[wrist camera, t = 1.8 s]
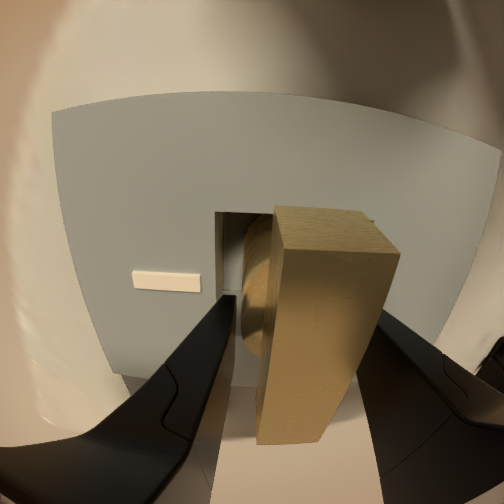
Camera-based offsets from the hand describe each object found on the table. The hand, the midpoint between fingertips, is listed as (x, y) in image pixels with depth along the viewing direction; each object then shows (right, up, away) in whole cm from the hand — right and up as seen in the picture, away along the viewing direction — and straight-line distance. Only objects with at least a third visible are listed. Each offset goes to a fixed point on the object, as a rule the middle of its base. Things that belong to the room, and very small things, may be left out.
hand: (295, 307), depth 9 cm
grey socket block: (0, +2, +4) cm, 4 cm away
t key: (0, +2, +4) cm, 4 cm away
